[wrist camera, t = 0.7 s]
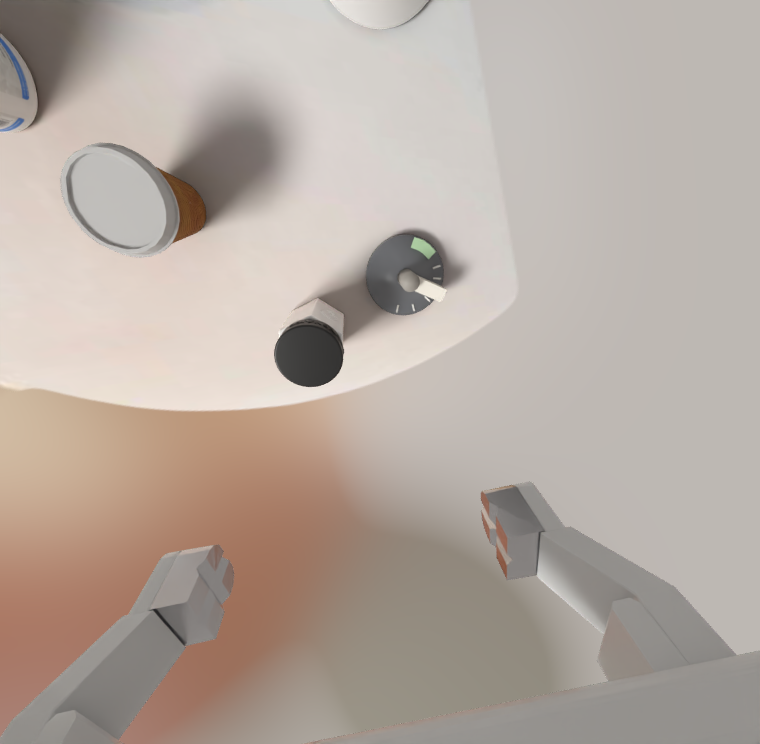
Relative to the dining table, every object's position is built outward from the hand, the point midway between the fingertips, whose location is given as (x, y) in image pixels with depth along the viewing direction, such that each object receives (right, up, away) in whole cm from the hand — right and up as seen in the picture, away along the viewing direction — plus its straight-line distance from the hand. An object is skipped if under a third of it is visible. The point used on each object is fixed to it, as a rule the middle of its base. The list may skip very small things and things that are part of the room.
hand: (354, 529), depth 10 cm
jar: (-9, +12, +38) cm, 41 cm away
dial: (+4, +19, +35) cm, 40 cm away
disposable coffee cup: (-24, +26, +30) cm, 46 cm away
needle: (+6, +18, +35) cm, 39 cm away
